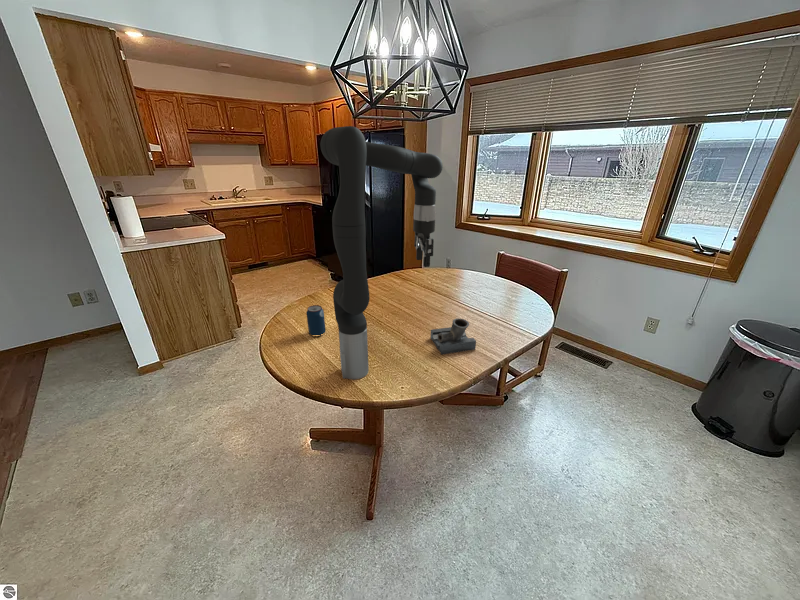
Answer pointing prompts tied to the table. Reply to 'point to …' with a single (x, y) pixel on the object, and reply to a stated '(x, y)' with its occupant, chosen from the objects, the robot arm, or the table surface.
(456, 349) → the v block
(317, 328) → the soda can
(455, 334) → the pipe
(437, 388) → the table surface
